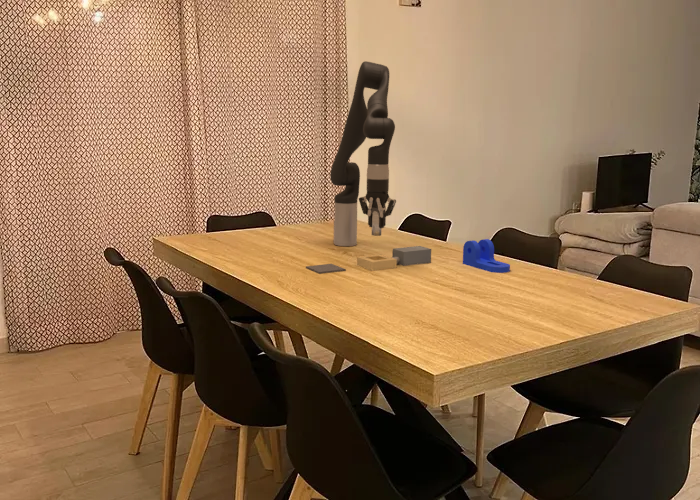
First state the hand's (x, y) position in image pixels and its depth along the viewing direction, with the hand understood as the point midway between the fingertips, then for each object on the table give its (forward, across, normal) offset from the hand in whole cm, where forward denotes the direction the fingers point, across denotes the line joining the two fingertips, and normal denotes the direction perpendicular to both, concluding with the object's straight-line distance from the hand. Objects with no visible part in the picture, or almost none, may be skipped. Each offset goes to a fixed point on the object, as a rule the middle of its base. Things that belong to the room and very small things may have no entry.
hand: (376, 227), depth 242 cm
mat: (+14, +12, +14) cm, 23 cm away
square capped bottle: (+3, 0, 0) cm, 3 cm away
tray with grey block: (+14, -4, -7) cm, 16 cm away
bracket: (+14, -34, -20) cm, 42 cm away
